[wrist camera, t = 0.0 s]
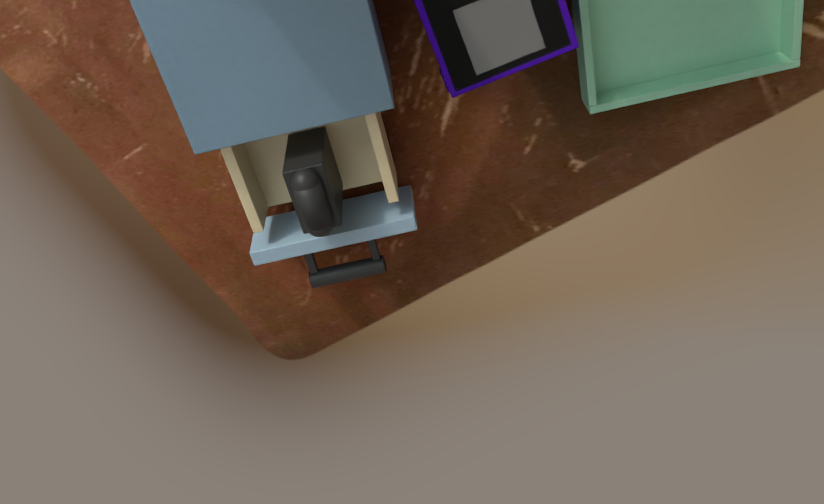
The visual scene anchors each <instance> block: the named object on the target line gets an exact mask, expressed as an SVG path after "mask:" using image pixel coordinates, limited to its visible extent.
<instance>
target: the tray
mask: <svg viewBox="0 0 824 504" xmlns="http://www.w3.org/2000/svg"><path fill="white" fill-rule="evenodd" d="M571 3H572V13H573V22H574V30H575V33H576V37H577V39H578V43H579V47H578V48H576V51H577V61H578V70H579V80H580V89H581V99H582V101H583V103H584V105H585V107H586V108H587V110H588V112H589V113H590V114H593V113H598V112H602V111H607V110H611V109H615V108H620V107H624V106H629V105H633V104H637V103H642V102H646V101H651V100H655V99H659V98H664V97H668V96H673V95H677V94H681V93H686V92H690V91H695V90H699V89H704V88H708V87H712V86H717V85H721V84H726V83H730V82H734V81H739V80H743V79H748V78H752V77H756V76H761V75H765V74H770V73H774V72H778V71H783V70H787V69H792V68H796V67H800V53H801V38H802V22H803V6H804V0H571Z"/></svg>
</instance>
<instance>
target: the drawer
mask: <svg viewBox="0 0 824 504" xmlns="http://www.w3.org/2000/svg"><path fill="white" fill-rule="evenodd" d="M324 126H325V128H326V131H327V134H328V137H329V141H330V144H331V147H332V150H333V153H334V157H335V160H336V163H337V166H338V170H339V173H340V176H341V179H342V183H343V190H346V189H350V188H354V187H359V186H363V185H368V184H372V183H377V182H381V181H382V182H383V185H384V189H385V190H384V191H380V192H375V193H371V194H366V195H362V196H358V197H353V198H349V199H344V200H343V205H342V226H338V227H334V228H332V230H331V232H330V233H329V234H328V235H326V236H324V237H315V236H312V235H311V234H309V233H307V234H304V233H303V231H302V228H301V225H300V222H299V220H298V217H297V214H296V211H291V212H286V213H282V214H277V215H273V216H268V217H266V216H267V210H268V207H270V206H275V205H279V204H283V203H288V202H292V200H291V197H290V194H289V192H288V189H287V186H286V183H285V180H284V178H283V175H282V171H283V165H284V159H285V152H286V146H287V140H288V135H290V134H294V133H298V132H302V131H307V130H311V129H315V128H320V127H324ZM220 150H221V153H222V155H223V158H224V160H225V163H226V165H227V168H228V170H229V173H230V175H231V178H232V180H233V183H234V185H235V188H236V190H237V193H238V195H239V198H240V200H241V203H242V205H243V208H244V210H245V213H246V215H247V218H248V220H249V223H250V225H251V228H252V230H253V238H252V243H251V248H250V256H251V258H252V261H253V263H254V265H260V264H264V263H269V262H273V261H278V260H283V259H287V258H292V257H296V256H301V255H304V256H305V259H306V262H307V264H308V267H309V270H310V271H309V280H310V283H311V286H312V288H316V287H321V286H326V285H330V284H335V283H339V282H344V281H349V280H353V279H358V278H362V277H367V276H372V275H376V274H381V273H386V272H387V268H386V263H385V259H384V256H383V255H380V253H379V250H378V247H377V243H376V240H375V239H378V238H383V237H387V236H392V235H396V234H401V233H405V232H410V231H414V230H417V221H416V213H415V205H414V197H413V193H412V189H411V185H407V186H402V187H398V185H397V174H396V169H395V166H394V162H393V158H392V154H391V151H390V147H389V143H388V139H387V135H386V132H385V128H384V124H383V120H382V116H381V113H380V112H377V113H372V114H368V115H364V116H359V117H355V118H351V119H346V120H342V121H338V122H334V123H329V124H325V125H321V126H316V127H312V128H308V129H303V130H299V131H295V132H290V133H286V134H282V135H277V136H273V137H269V138H264V139H260V140H256V141H252V142H247V143H243V144H239V145H234V146H230V147H226V148H221V149H220ZM364 241H367V243H368V246H369V249H370V253H371V256H372V257H371V258H366V259H362V260H357V261H353V262H348V263H343V264H339V265H334V266H330V267H325V268H321V269H318V266H317V263H316V260H315V257H314V254H313V253H314V252H319V251H323V250H328V249H333V248H337V247H342V246H346V245H351V244H355V243H360V242H364Z"/></svg>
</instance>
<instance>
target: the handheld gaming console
mask: <svg viewBox="0 0 824 504" xmlns="http://www.w3.org/2000/svg"><path fill="white" fill-rule="evenodd" d="M414 3H415V5H416V8H417V10H418V13H419V15H420V18H421V20H422V23H423V25H424V28H425V30H426V33H427V35H428V38H429V40H430V43H431V45H432V48H433V51H434V53H435V56H436V58H437V61H438V63H439V66H440V68H439V70H440V73H441V75H442V79H443V81H444V83H445V86H446V88H447V91H448V92H449V91H450V94H451V97H452V98H453V97H456V96H458V95H461V94H463V93H466V92H468V91H471V90H473V89H476V88H478V87H481V86H483V85H486V84H488V83H491V82H493V81H496V80H498V79H501V78H503V77H506V76H508V75H511V74H513V73H516V72H518V71H521V70H523V69H526V68H528V67H531V66H533V65H536V64H538V63H541V62H543V61H546V60H548V59H551V58H553V57H556V56H558V55H561V54H563V53H566V52H568V51H571V50H573V49H576V48H578V47H579V43H578V39H577V37H576V33H575V30H574V26H573V24H572V20H571V17H570V14H569V11H568V7H567V4H566V1H565V0H414Z"/></svg>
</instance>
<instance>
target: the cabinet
mask: <svg viewBox="0 0 824 504" xmlns="http://www.w3.org/2000/svg"><path fill="white" fill-rule="evenodd" d="M130 3H131V5H132V7H133V10H134V12H135V15H136V17H137V19H138V22H139V24H140V26H141V29H142V31H143V33H144V36H145V38H146V41H147V43H148V45H149V48H150V50H151V52H152V55H153V57H154V59H155V62H156V64H157V67H158V69H159V71H160V74H161V76H162V78H163V81H164V83H165V85H166V88H167V90H168V93H169V95H170V97H171V100H172V102H173V104H174V107H175V109H176V111H177V114H178V116H179V119H180V121H181V123H182V126H183V128H184V130H185V133H186V135H187V137H188V140H189V142H190V145H191V147H192V149H193V152H194V154H200V153H204V152H208V151H213V150H217V149H221V148H226V147H230V146H234V145H239V144H243V143H247V142H252V141H256V140H260V139H264V138H269V137H273V136H277V135H282V134H286V133H290V132H295V131H299V130H303V129H308V128H312V127H316V126H321V125H325V124H329V123H334V122H338V121H342V120H346V119H351V118H355V117H359V116H364V115H368V114H372V113H377V112H381V111H385V110H390V109H394V97H393V88H392V79H391V70H390V66H389V62H388V58H387V54H386V50H385V46H384V42H383V38H382V33H381V29H380V25H379V21H378V17H377V13H376V9H375V5H374V1H373V0H130Z"/></svg>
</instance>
